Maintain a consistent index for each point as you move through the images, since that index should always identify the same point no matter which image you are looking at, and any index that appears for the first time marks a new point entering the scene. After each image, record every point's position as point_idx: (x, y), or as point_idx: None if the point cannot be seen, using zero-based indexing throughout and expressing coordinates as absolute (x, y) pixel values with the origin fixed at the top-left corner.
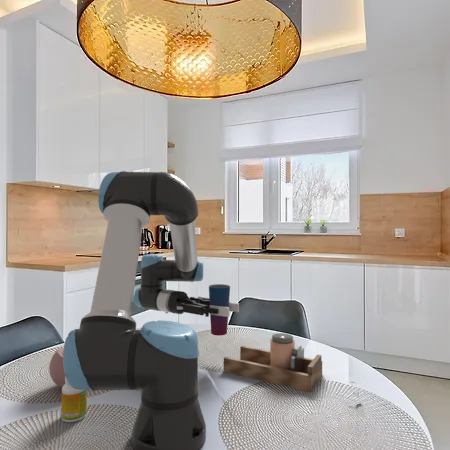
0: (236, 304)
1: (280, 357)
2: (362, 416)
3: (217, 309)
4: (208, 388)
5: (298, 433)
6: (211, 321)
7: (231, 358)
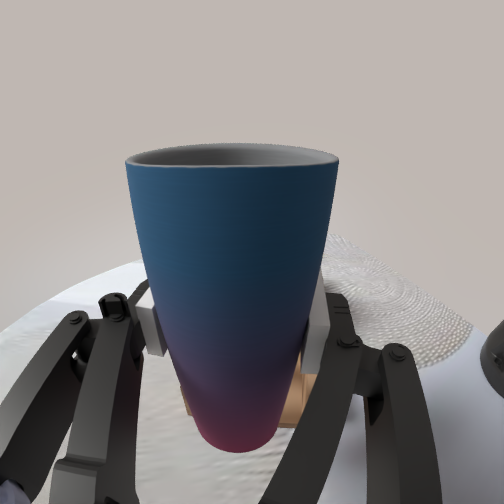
0: None
1: None
2: (324, 255)
3: (333, 295)
4: None
5: (400, 287)
6: (279, 408)
7: (312, 382)
